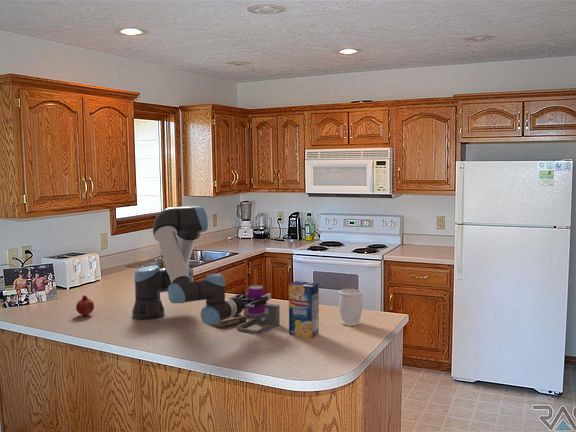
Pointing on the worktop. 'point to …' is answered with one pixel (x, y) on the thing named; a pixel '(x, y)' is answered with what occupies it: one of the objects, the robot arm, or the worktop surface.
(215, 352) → the worktop surface
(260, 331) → the checker cradle
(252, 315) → the cup
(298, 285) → the beverage box
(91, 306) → the fruit
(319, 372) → the worktop surface
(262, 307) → the beverage can
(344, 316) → the jar
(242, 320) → the wooden tray
